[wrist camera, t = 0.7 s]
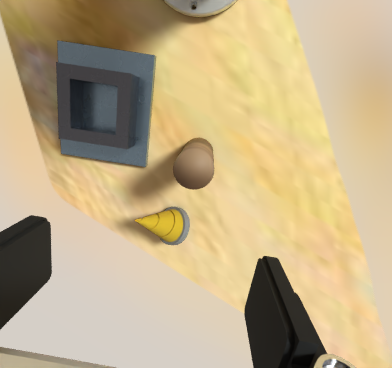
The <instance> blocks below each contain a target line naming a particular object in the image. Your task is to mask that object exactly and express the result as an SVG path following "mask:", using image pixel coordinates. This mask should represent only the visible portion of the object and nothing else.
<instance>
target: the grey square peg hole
mask: <svg viewBox="0 0 392 368" xmlns="http://www.w3.org/2000/svg"><path fill="white" fill-rule="evenodd" d="M57 42H58V62H56V67H57V96H58V124H59V139H61V154H67V155H74V156H80V157H86V158H93V159H99V160H105V161H112V162H118V163H124V164H130V165H137V166H143V167H146V166H147V160H148V148H149V136H150V124H151V112H152V100H153V88H154V76H155V64H156V56H155V55H149V54H143V53H136V52H129V51H123V50H116V49H110V48H103V47H97V46H90V45H83V44H77V43H70V42H64V41H57Z"/></svg>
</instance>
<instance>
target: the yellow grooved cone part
mask: <svg viewBox="0 0 392 368" xmlns="http://www.w3.org/2000/svg"><path fill="white" fill-rule="evenodd" d="M135 221H136V222H138V223H139V224H141V225H142V226H144V227H145V228H147V229H148V230H150V231H151V232H153V233H154V234H156V235H157V236H159V237H160V239H161V240H162V242H164V243H165V244H168V245H178V244H180V243H182V242H183V241H184V240H185V238H186V237H187V235H188V232H189V227H190V222H189V217H188V215H187V213H186V212H185V211H184V210H183V209H181V208H178V207H169V208H167V209H166V210H165V211H164V212H160V213H157V214H153V215H150V216H146V217H143V219H142V218H139V219H136V220H135Z"/></svg>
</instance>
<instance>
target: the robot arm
mask: <svg viewBox="0 0 392 368" xmlns="http://www.w3.org/2000/svg"><path fill="white" fill-rule="evenodd" d="M164 1H165V2H166V3H167V4H168V5H169V6H170V7H172V8H173V9H175V10H176V11H178V12H180V13H182V14H185V15H188V16H193V17H207V16H211V15H215V14H218V13H220V12H222V11H224V10H226V9H227V8H229V7H230V6H231V5H233V4H234V3H235V2H236V1H237V0H164ZM193 6H195V7H196V9H195V10H192V7H193ZM51 268H52V266H51V228H50V222H48V221H47V219H46V218H44V217H39V216H32V215H31V216H29V217H27V218H25V219H23V220H21V221H19V222H18V223H16V224H14V225H12V226H11V227H9V228H7V229H5V230H3V231H1V232H0V329H1V328H2V327H3V326H4V325H5V324H6V323H7V322H8V321H9V320H10V319H11V318H12V317H13V316H14V315H15V314H16V313H17V312H18V311H19V310H20V309H21V308H22V307H23V306H24V305H25V304H26V303H27V302H28V301H29V300H30V299H31V298H32V297H33V296H34V295H35V294H36V293H37V292H38V291H39V290H40V289H41V288H42V287H43V285H44V284H45V283H47V281H48V280H49V279H50V277H51V273H52V270H51ZM245 320H246V326H247V332H248V338H249V344H250V349H251V355H252V361H253V366H254V368H356V367H355V366H353V365H352V364H351V363H350V362H348V361H346V360H345V359H343V358H341V357H338V356H336V355H332V354H327V352H326V350H325V348H324V346H323V344H322V342H321V340H320V338H319V336H318V334H317V332H316V330H315V328H314V326H313V324H312V322H311V320H310V318H309V316H308V314H307V312H306V310H305V308H304V306H303V304H302V302H301V300H300V298H299V296H298V295H297V294H296V293H294V291H293V289H292V287H291V285H290V282H289V280H288V278H287V276H286V274H285V272H284V270H283V268H282V266H281V264H280V262H279V260H278V258H274V257H269V256H263V258H262V259H261V258H259V259H258V262H257V266H256V269H255V273H254V276H253V280H252V284H251V287H250V291H249V294H248V298H247V302H246V305H245ZM0 368H115V367H109V366H104V365H99V364H93V363H88V362H82V361H77V360H71V359H66V358H60V357H54V356H49V355H43V354H37V353H32V352H26V351H20V350H15V349H9V348H3V347H0Z"/></svg>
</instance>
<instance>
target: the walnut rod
mask: <svg viewBox="0 0 392 368" xmlns="http://www.w3.org/2000/svg"><path fill="white" fill-rule="evenodd" d="M173 173H174V176H175V178H176V180H177V181H178V183H179V184H181V185H182V186H183V187H185V188H188V189H200V188H203V187H205V186H206V185H207V184H208V183H209V182H210V181H211V180H212V178H213V175H214V159H213V149H212V146H211V144H210V143H209V142H208V141H207V140H205V139H203V138H195V139H192V140H190V141H189V142H188V143H187V144H186V146H185V147H184V149H183V150H182V151H181V153H180V154H179V155H178V157H177V158H176V160H175V162H174V166H173Z"/></svg>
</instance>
